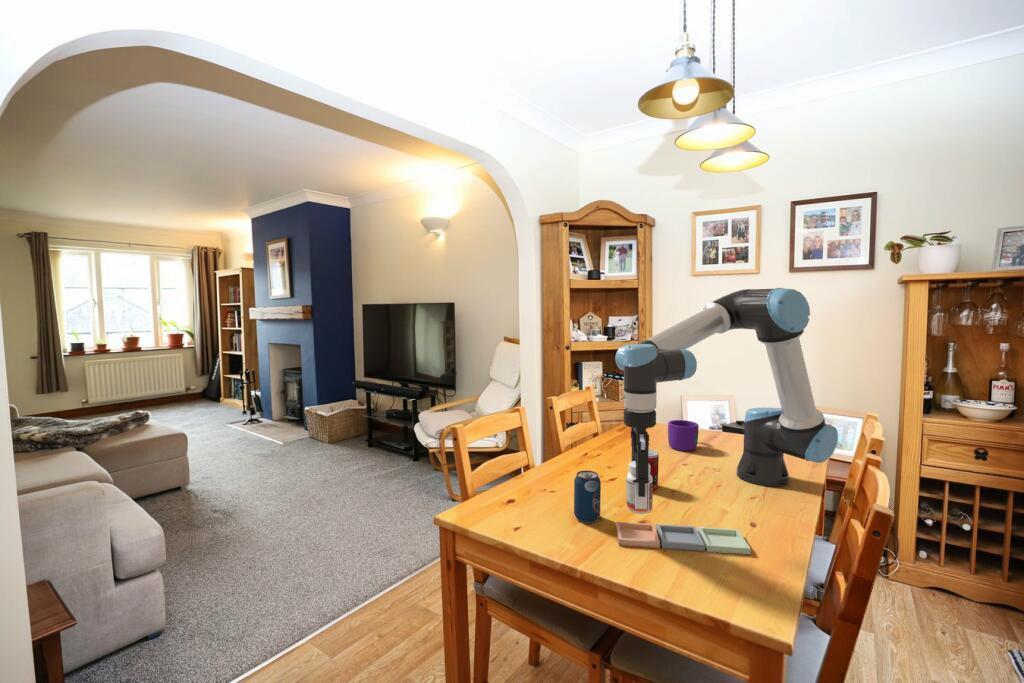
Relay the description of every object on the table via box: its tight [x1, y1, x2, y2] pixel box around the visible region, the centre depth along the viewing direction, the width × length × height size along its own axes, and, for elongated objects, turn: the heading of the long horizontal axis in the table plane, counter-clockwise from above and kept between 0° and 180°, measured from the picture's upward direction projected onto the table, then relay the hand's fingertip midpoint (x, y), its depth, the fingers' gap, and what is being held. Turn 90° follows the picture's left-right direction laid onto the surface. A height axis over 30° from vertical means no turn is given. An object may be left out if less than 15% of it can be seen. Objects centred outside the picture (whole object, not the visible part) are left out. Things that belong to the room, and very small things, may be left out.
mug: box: [667, 419, 700, 452], centre depth 193 cm, size 17×11×10 cm, turn 150°
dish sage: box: [697, 526, 752, 555], centre depth 115 cm, size 9×9×2 cm
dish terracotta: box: [615, 521, 661, 549], centre depth 118 cm, size 9×9×2 cm
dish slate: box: [655, 523, 706, 552], centre depth 117 cm, size 9×9×2 cm
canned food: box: [648, 448, 660, 491], centre depth 150 cm, size 8×8×11 cm
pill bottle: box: [625, 460, 654, 515], centre depth 117 cm, size 6×6×11 cm
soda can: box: [573, 470, 602, 524], centre depth 128 cm, size 7×7×12 cm
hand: (639, 501), depth 118 cm, fingers closed on pill bottle, 6 cm apart
